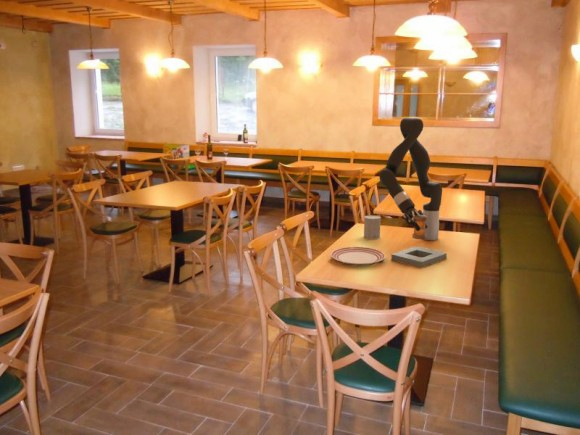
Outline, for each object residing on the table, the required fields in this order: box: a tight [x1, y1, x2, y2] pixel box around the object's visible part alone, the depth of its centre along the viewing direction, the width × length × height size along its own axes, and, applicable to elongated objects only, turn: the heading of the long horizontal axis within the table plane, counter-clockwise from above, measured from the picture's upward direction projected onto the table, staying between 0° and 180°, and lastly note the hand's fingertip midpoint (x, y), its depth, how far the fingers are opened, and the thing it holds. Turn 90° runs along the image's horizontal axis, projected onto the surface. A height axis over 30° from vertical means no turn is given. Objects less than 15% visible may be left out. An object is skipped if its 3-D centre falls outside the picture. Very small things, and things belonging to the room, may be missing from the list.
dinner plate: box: [330, 246, 386, 266], centre depth 266 cm, size 27×27×3 cm
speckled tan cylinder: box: [363, 214, 382, 240], centre depth 307 cm, size 10×10×12 cm
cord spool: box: [411, 215, 427, 240], centre depth 262 cm, size 7×7×11 cm
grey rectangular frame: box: [391, 245, 448, 269], centre depth 266 cm, size 22×18×3 cm
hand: (422, 229), depth 261 cm, fingers closed on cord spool, 5 cm apart
